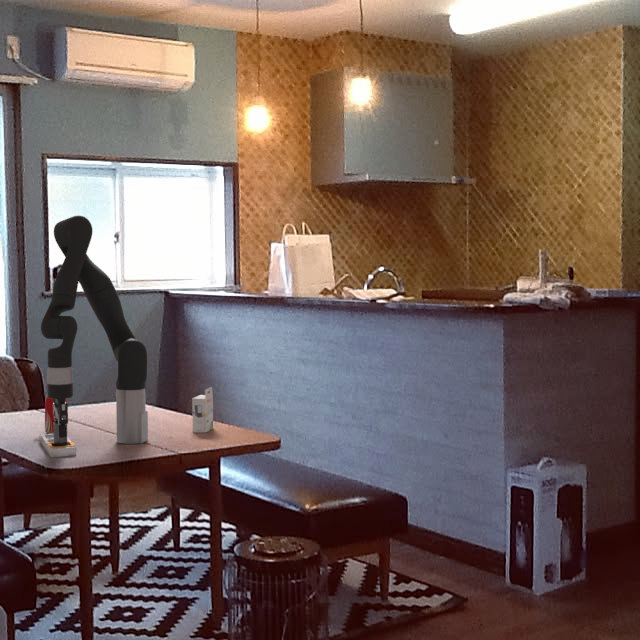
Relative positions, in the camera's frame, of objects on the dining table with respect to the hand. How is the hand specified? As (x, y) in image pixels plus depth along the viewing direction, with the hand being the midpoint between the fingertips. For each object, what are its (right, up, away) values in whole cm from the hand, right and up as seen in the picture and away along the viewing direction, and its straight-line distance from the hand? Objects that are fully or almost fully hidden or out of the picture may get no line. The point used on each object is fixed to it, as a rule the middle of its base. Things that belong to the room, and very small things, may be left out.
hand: (60, 435), depth 303 cm
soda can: (-10, -4, +34) cm, 36 cm away
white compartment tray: (-3, -5, +8) cm, 10 cm away
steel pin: (0, -6, 0) cm, 6 cm away
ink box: (+38, -3, +40) cm, 56 cm away
